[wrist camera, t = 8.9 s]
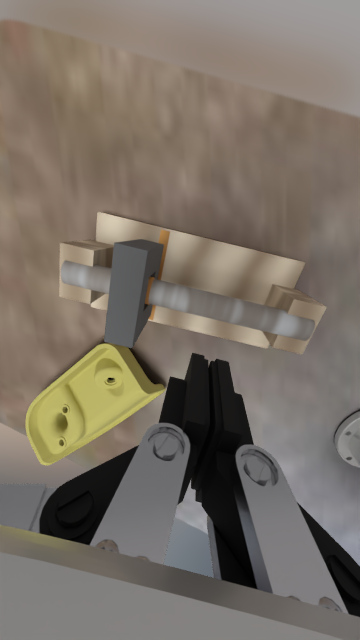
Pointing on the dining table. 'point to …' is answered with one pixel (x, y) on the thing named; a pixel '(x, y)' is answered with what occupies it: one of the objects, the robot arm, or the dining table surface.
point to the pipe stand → (200, 285)
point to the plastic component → (87, 402)
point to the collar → (130, 289)
